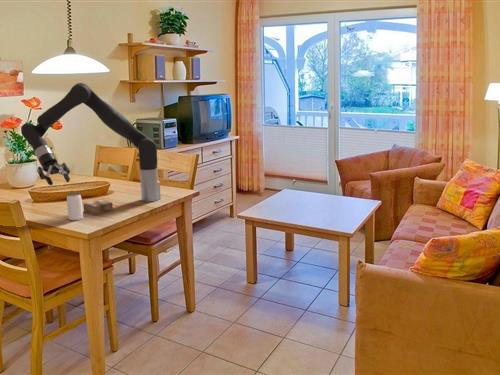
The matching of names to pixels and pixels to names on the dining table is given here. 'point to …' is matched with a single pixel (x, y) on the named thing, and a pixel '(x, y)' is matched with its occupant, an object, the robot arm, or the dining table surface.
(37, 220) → the dining table surface
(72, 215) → the can
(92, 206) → the pedestal
